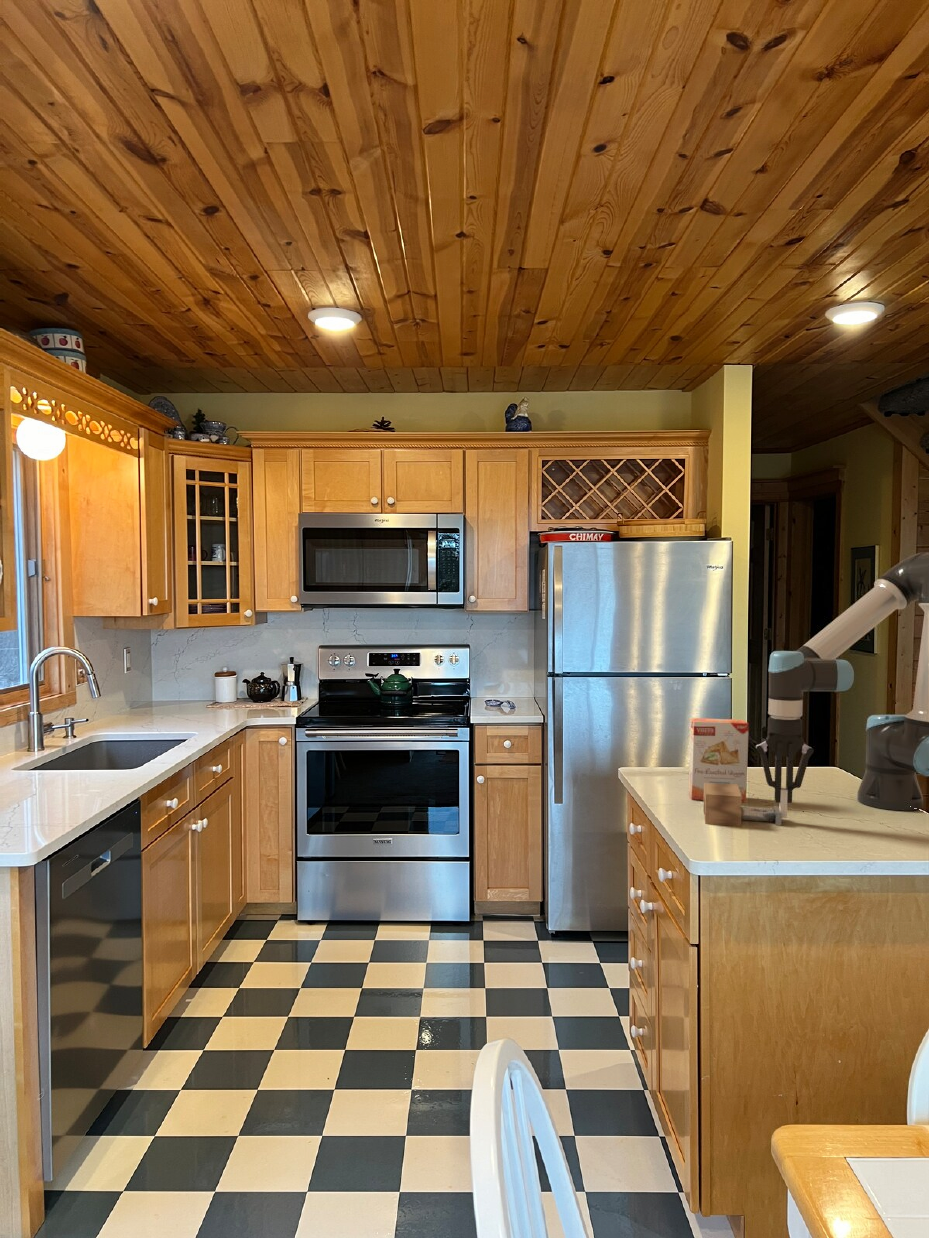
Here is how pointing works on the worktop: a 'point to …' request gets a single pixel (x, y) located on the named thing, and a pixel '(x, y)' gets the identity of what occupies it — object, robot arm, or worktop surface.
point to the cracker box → (718, 754)
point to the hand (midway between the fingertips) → (782, 816)
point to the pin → (762, 814)
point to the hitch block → (722, 804)
